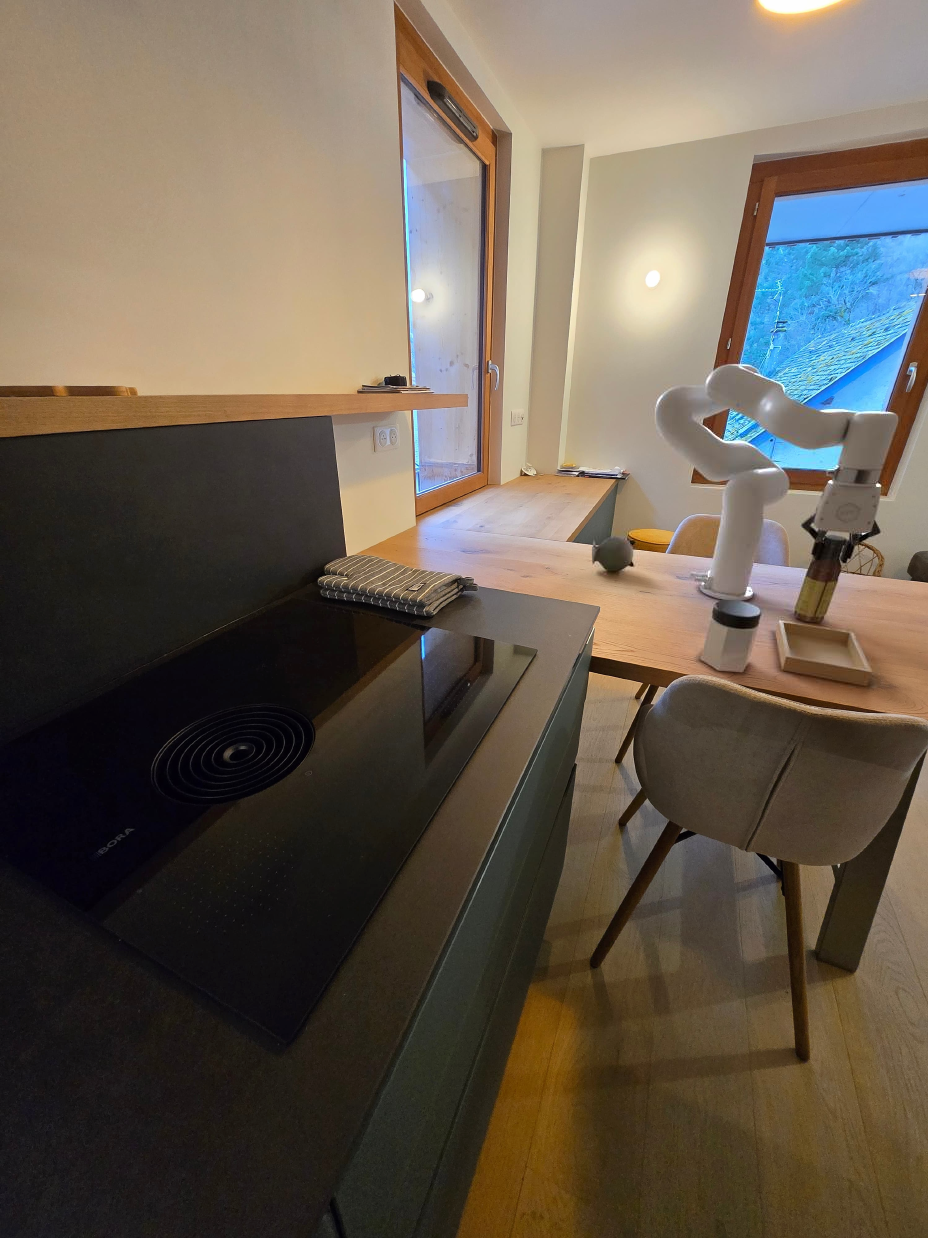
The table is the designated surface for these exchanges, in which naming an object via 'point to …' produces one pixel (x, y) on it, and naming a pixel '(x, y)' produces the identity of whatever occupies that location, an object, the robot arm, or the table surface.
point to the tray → (822, 653)
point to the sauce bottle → (820, 581)
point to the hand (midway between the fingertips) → (829, 559)
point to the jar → (731, 635)
